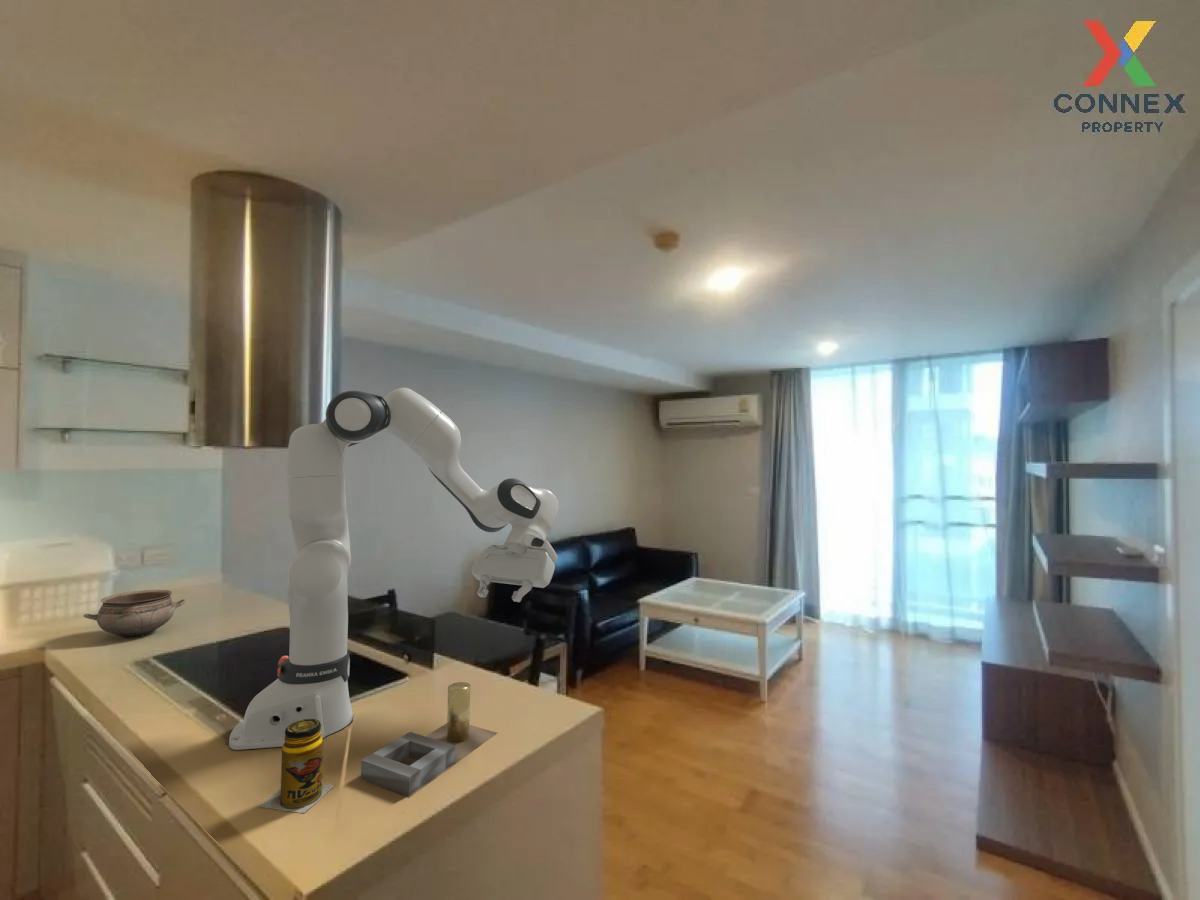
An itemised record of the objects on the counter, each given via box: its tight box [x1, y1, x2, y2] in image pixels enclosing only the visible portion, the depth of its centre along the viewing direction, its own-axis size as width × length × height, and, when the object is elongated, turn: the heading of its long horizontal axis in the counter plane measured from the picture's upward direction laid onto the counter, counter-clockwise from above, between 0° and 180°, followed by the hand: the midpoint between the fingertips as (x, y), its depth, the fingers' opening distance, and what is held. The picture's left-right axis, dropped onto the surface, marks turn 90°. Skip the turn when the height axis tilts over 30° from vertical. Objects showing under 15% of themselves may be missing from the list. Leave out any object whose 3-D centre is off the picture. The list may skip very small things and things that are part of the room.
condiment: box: [257, 719, 335, 814], centre depth 89 cm, size 7×8×12 cm
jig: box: [356, 722, 498, 799], centre depth 101 cm, size 24×12×4 cm, turn 154°
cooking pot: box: [83, 589, 187, 639], centre depth 171 cm, size 25×19×12 cm
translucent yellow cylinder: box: [446, 681, 471, 743], centre depth 107 cm, size 4×4×10 cm
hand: (497, 598), depth 119 cm, fingers open, 8 cm apart
